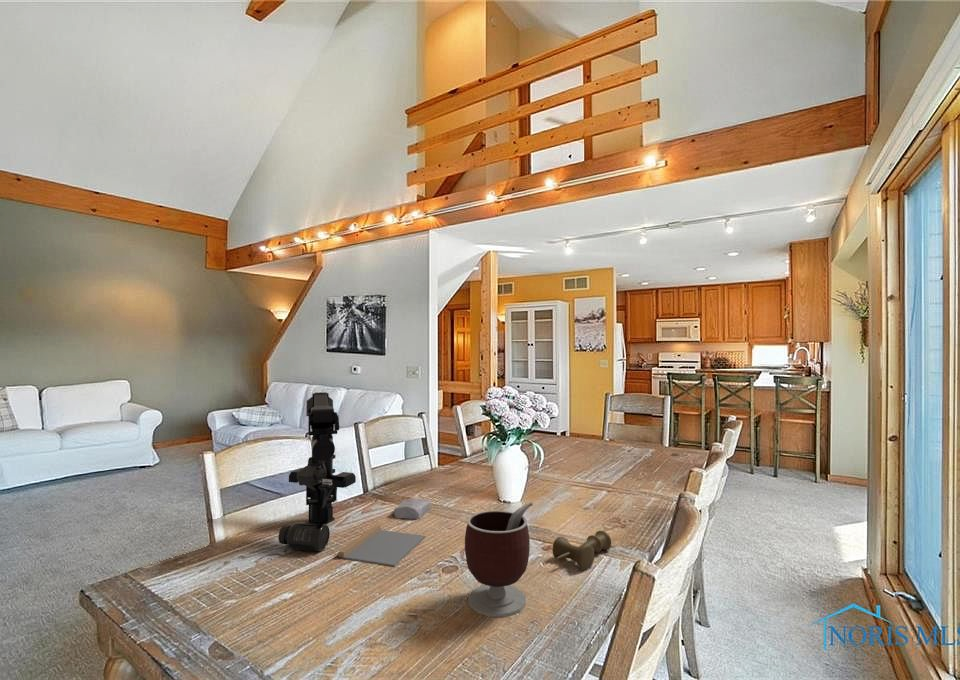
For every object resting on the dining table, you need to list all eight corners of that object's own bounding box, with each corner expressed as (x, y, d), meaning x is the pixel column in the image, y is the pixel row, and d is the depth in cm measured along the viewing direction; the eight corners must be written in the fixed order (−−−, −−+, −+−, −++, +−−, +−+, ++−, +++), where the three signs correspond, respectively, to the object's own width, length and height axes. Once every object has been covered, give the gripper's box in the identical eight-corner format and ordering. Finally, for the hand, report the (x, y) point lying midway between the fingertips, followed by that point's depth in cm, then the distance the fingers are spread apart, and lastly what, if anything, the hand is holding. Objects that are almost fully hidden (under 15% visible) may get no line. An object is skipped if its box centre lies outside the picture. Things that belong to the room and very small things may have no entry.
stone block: (392, 524, 151) (422, 520, 149) (389, 509, 151) (419, 504, 149) (405, 513, 162) (433, 509, 160) (403, 498, 163) (430, 494, 161)
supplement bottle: (330, 519, 130) (289, 516, 132) (317, 531, 123) (275, 527, 125) (330, 543, 130) (290, 540, 132) (318, 556, 124) (275, 552, 126)
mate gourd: (480, 625, 93) (480, 522, 93) (455, 592, 106) (455, 501, 106) (548, 608, 99) (548, 511, 99) (517, 578, 112) (517, 493, 112)
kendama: (620, 556, 125) (572, 578, 112) (589, 546, 132) (541, 565, 119) (620, 533, 125) (571, 552, 112) (589, 524, 133) (541, 540, 120)
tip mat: (338, 557, 122) (338, 551, 122) (375, 530, 140) (375, 525, 140) (394, 566, 118) (394, 560, 118) (425, 537, 136) (425, 531, 136)
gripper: (275, 456, 130) (274, 513, 130) (333, 461, 125) (333, 521, 125) (301, 448, 141) (301, 501, 141) (356, 452, 135) (356, 507, 135)
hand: (321, 507), depth 135 cm, fingers closed
